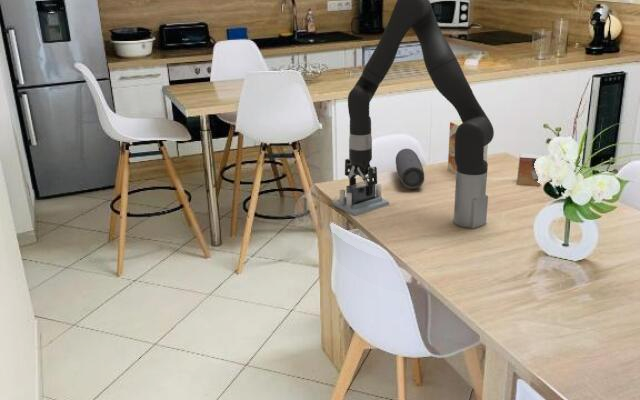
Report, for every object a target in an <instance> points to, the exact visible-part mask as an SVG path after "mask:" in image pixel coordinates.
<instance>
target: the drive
mask: <svg viewBox="0 0 640 400" xmlns="http://www.w3.org/2000/svg"><path fill="white" fill-rule="evenodd" d="M368 182H369V180H368ZM376 185H377V184H375V185H373V193H372V195H371V196H366V184H365V181H364V180H362V181H360V182H356V184H352V185H349V184H348V185H346V189H345V194H346V193H352V206H353V205H355V204H359V203H362V202H365V201H369V200H372V199H375V196H376Z"/></svg>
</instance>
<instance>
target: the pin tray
mask: <svg viewBox="0 0 640 400" xmlns="http://www.w3.org/2000/svg"><path fill="white" fill-rule="evenodd" d="M389 205H390V201H389V200H386V199H384V198H383V197H382V184H379V183H377V184H376V195H375V199H372V200H369V201H365V202H362V203H359V204H355V205H353V206H352V193H346V189H340V190H339V199H337V200H333V201H332V206H334V207H336V208H337V209H340V210H342V211H344V212H347V213H348V214H351V215H352V216H357V215H360V214H361V215H362V214H364V213H367V212H371V211H373V210H377V209H379V208H384V207H386V206H389Z"/></svg>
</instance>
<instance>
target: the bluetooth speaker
mask: <svg viewBox="0 0 640 400" xmlns="http://www.w3.org/2000/svg"><path fill="white" fill-rule="evenodd" d="M395 167H396V173H397V175H398V178H399V180H400V182H401V183H402V185H403V186H404V187H406V189H411V190H414V189H418V188H420V187H421V186H423V183H424V182H425V172H424V167H423V164H422V162H421V160H420V158H419V156H418V154H417V153H416V152H415V151H414V149H410V148H403V149H401V150H399V151H398V152H397V154H396V156H395Z"/></svg>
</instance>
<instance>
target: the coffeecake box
mask: <svg viewBox="0 0 640 400" xmlns="http://www.w3.org/2000/svg"><path fill="white" fill-rule="evenodd" d="M461 124H462V120H461V119H460V120H453V121H449V137H448V140H449V141H448V155H447V160H448V161H447V171H449V172H450V173H452V174H455V175H456V170H457V165H456V162H455V134H456V130H457V128H458V127H459V125H461ZM488 145H489V144H487V145H486V146H484V160H485V161H486V162H487V159H488V148H489V146H488ZM487 163H488V162H487Z"/></svg>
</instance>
